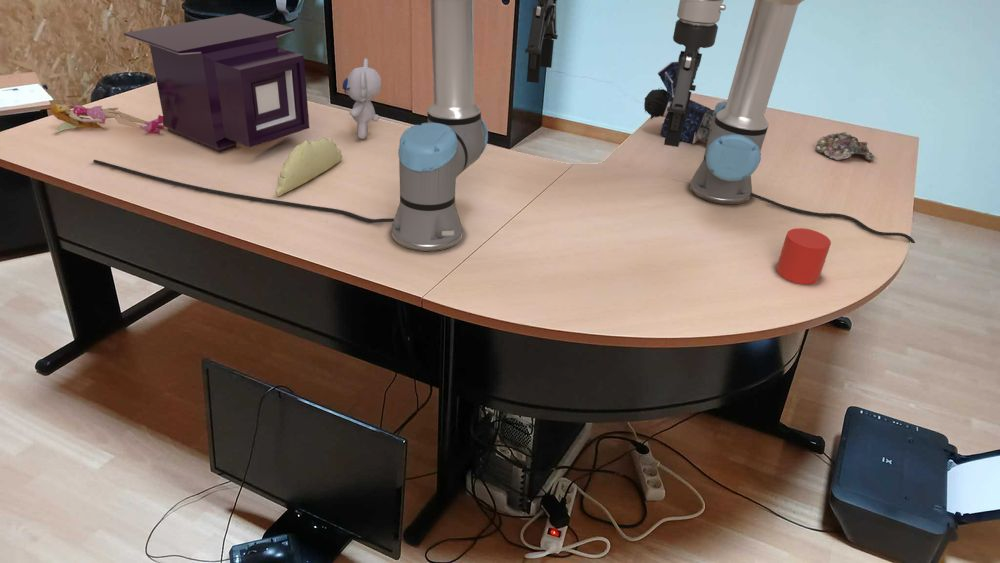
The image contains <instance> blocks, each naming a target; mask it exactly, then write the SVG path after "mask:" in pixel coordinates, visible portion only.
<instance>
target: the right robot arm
mask: <svg viewBox="0 0 1000 563" xmlns="http://www.w3.org/2000/svg"><path fill="white" fill-rule="evenodd" d="M557 1H558V0H537V4H536V5H533V6H532V17H531V22H530V23H531V24H530V30H529V34H528V35H529V36H528V41H527V45H526V46H527V47H526V48H525V49H524V50H525V51H524V52H525V54H528V59H527V60H528V61H527V73H526V82H527V83H533V84H534V83H535V84H539V83H540V73H541V67H542V68H549V69H551V68H552V67H553V66H552V65H553V54H554V43H555V40H558V36H559V35H558V34H557V32H558V31H557ZM804 1H805V0H754V3H753V7H752V10H751V14H750V17H749V21H748V24H747V28H746V31H745V35H744V38H743V43H742V46H741V49H740V53H739V57H738V60H737V63H736V67H735V70H734V75H733V79H732V81H731V85H730V89H729V92H728V97H727V100H726V101H721V102H718V103H716V105H715V106H714V109H713V110H714V112H713V118H712V123H711V127H710V132H709V136H708V141H707V142H706V145H705V150H704V154H703V159H702V161H701V163H700V165H699V166H698V168H697V169H696V171H695V173H694V174H693V176H692V179H691V180H690V184H689V189H690V191H691V193H693V194H694V196H696V197H698V198H700V199H702V200H704V201H707V202H710V203H713V204H717V205H726V206H727V205H729V206H734V205H742V204H745V203H747V202H749V201H750V199H751V197H752V198H756V199H758V200H761V201H764V202H765V203H766V202H767V203H769V204H772V205H773V206H776V207H779V208H782V209H784V210H788V211H792V212H795V213H799V214H804V215H810V216H816V217H833V218H834V217H837V218H843V219H846V220H850V221H851V222H854V223H855V224H857V225H858V226H860V227H861V228H862V229H864V230H866V231H867V232H870V233H872V234H875V235H878V236H889V237H903V238H905V239H907V240H908V241H909V242H910V243H911V244H916V241H915V239H914V238H913V237H912V236H910V235H909V234H907V233H903V232H889V231H886V232H884V231H879V230H875V229H873V228H870V227H869V226H867V225H866V224H864V223H863V222H861V221H860V220H859V219H857V218H855V217H853V216H850V215H847V214H844V213H843V214H842V213H834V212H833V213H832V212H815V211H810V210H804V209H800V208H796V207H791V206H789V205H785V204H782V203H779V202H777V201H774V200H772V199H769V198H767V197H765V196H764V197H763V196H761V195H759V194H757V193H756V194H755V193H753V186H752V175H753V173H755V172H756V170H757V169H758V167H759V165H760V162H761V159H762V153H761V151H762V147H763V144H764V141H765V138H766V135H767V131H768V128H769V122H768V120H767V118H766V116H765V114H766V111H767V108H768V105H769V102H770V98H771V94H772V93H773V88H774V85H775V82H776V78H777V75H778V72H779V69H780V66H781V63H782V60H783V56H784V53H785V49H786V47H787V44H788V40H789V36H790V33H791V30H792V26H793V23H794V20H795V17H796V14H797V11H798V8H799V5H800V4H801V3H803V2H804Z"/></svg>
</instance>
